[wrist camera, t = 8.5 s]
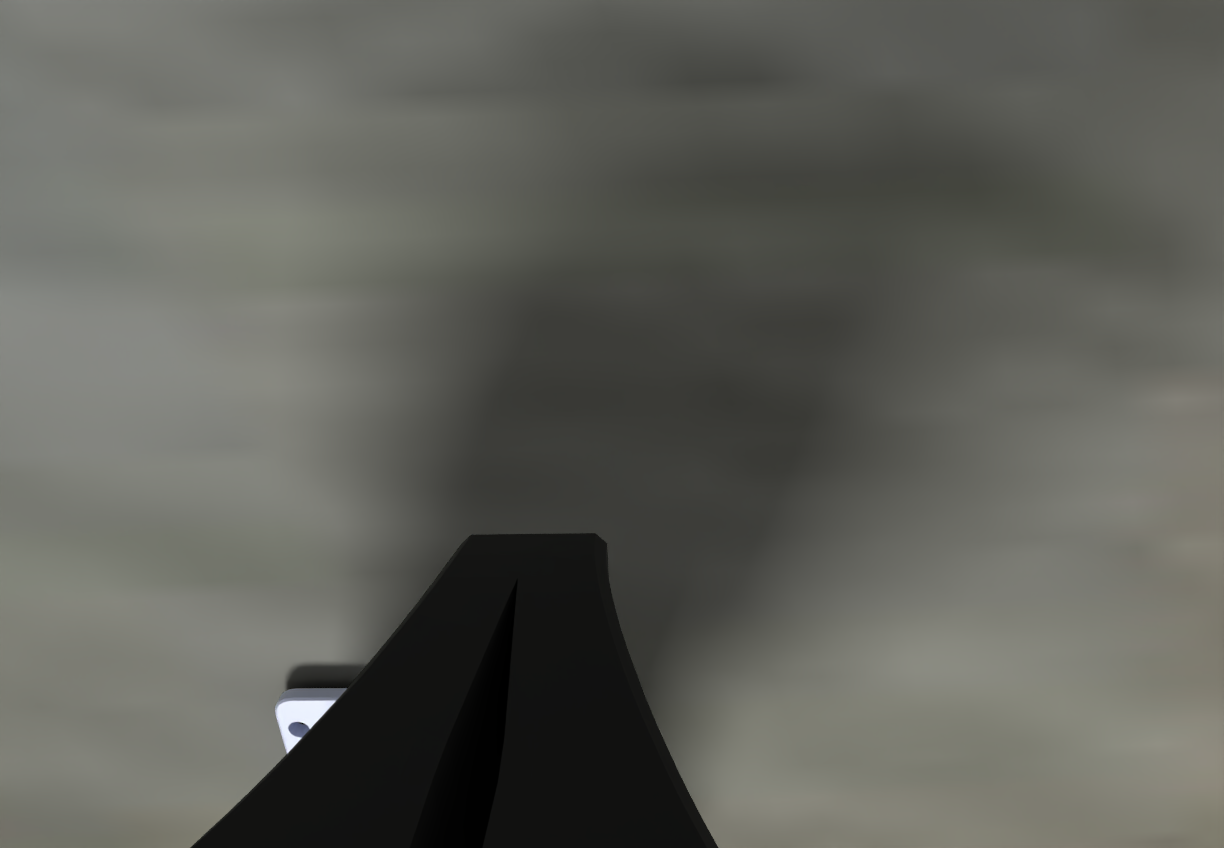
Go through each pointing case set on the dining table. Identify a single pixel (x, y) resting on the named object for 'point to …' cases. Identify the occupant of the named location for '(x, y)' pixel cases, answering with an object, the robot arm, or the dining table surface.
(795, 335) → the dining table surface
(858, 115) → the dining table surface
